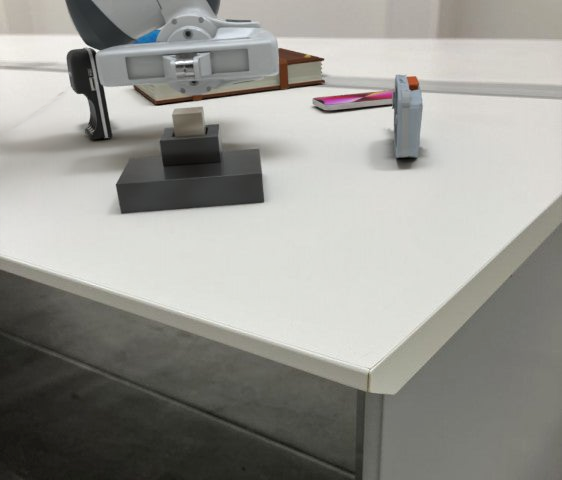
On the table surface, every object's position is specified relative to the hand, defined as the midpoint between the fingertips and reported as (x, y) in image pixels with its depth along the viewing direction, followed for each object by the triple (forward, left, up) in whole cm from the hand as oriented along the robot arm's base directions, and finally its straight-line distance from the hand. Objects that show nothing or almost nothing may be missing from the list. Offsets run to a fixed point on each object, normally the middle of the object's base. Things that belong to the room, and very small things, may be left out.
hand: (184, 70), depth 71 cm
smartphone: (+24, +34, -11) cm, 43 cm away
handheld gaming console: (+24, +3, -11) cm, 27 cm away
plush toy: (-14, +92, -11) cm, 94 cm away
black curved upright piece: (-16, +25, -11) cm, 32 cm away
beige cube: (0, -4, -6) cm, 7 cm away
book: (+2, +62, -11) cm, 63 cm away
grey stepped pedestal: (0, -7, -11) cm, 13 cm away
